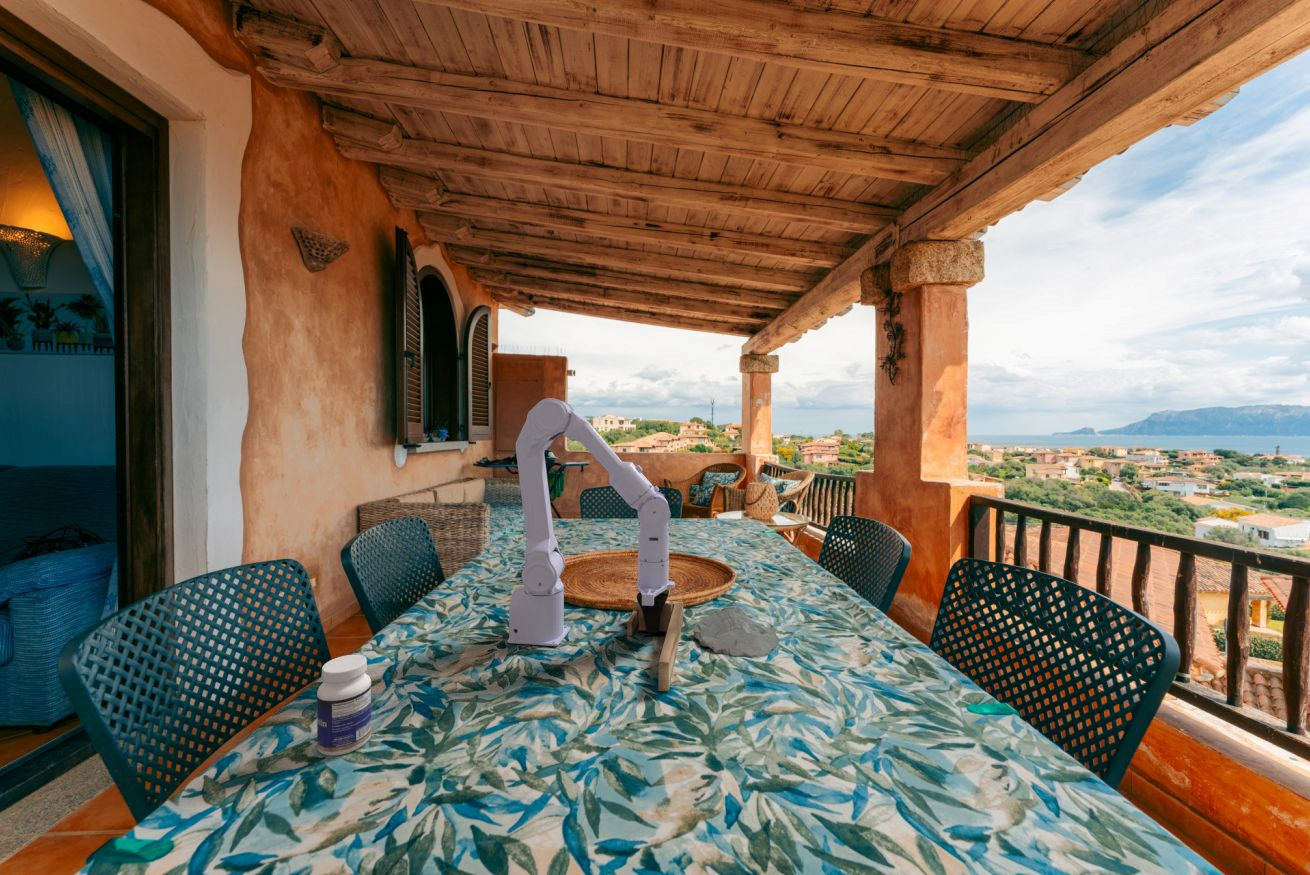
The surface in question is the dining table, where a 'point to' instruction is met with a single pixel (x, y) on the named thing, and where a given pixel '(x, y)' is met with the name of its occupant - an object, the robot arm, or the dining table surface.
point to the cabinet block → (664, 618)
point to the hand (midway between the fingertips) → (652, 631)
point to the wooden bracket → (669, 644)
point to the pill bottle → (344, 706)
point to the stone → (735, 634)
